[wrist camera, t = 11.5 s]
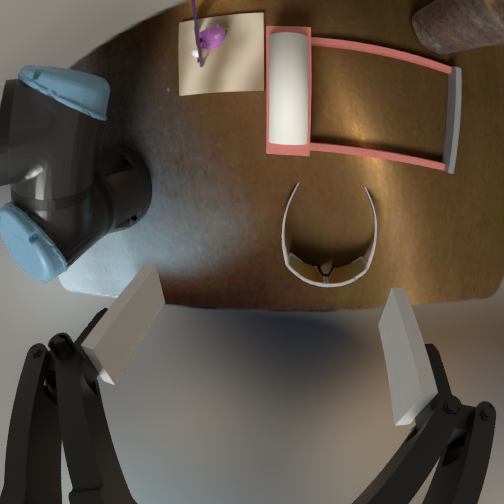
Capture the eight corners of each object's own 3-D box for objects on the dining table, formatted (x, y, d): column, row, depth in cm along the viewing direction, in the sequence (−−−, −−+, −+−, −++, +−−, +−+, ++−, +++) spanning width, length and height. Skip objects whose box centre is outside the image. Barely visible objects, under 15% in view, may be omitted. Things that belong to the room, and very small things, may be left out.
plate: (181, 95, 34) (179, 95, 33) (181, 24, 28) (179, 22, 27) (264, 90, 32) (264, 90, 31) (264, 14, 26) (263, 12, 25)
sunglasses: (282, 270, 46) (279, 284, 41) (284, 179, 40) (281, 184, 36) (364, 275, 43) (370, 289, 39) (375, 185, 38) (384, 190, 33)
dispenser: (272, 146, 36) (263, 156, 29) (272, 38, 28) (263, 20, 21) (445, 169, 32) (472, 186, 25) (453, 69, 24) (482, 66, 17)
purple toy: (185, -2, 20) (192, 58, 25) (229, -8, 21) (237, 52, 25) (188, 16, 26) (194, 68, 30) (225, 11, 27) (232, 63, 31)
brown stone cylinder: (457, 59, 22) (546, 50, 5) (417, 54, 24) (500, 30, 7) (444, 15, 19) (520, -18, 2) (403, 9, 21) (468, -43, 4)
